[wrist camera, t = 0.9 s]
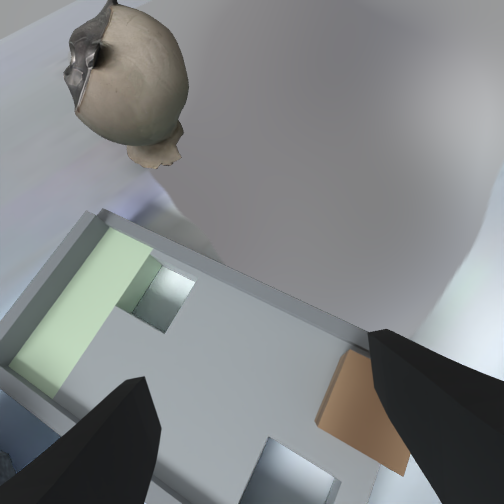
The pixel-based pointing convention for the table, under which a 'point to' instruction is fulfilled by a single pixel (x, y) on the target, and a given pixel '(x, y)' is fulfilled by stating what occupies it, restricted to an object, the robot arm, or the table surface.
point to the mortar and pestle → (5, 468)
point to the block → (360, 414)
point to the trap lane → (181, 361)
